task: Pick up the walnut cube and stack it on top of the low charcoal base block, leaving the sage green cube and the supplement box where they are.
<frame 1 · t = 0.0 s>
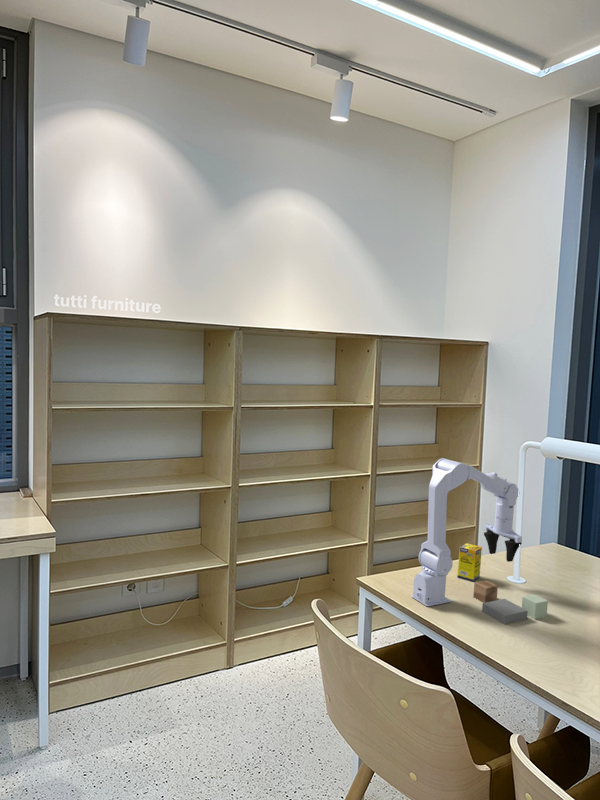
hand: (500, 557, 198), 10 cm above the table, tool pointing down, fingers open, 7 cm apart
charcoal base block: (504, 616, 177), on the table
supplement box: (468, 578, 206), on the table
walnut cube: (484, 599, 188), on the table
sage green cube: (533, 614, 179), on the table
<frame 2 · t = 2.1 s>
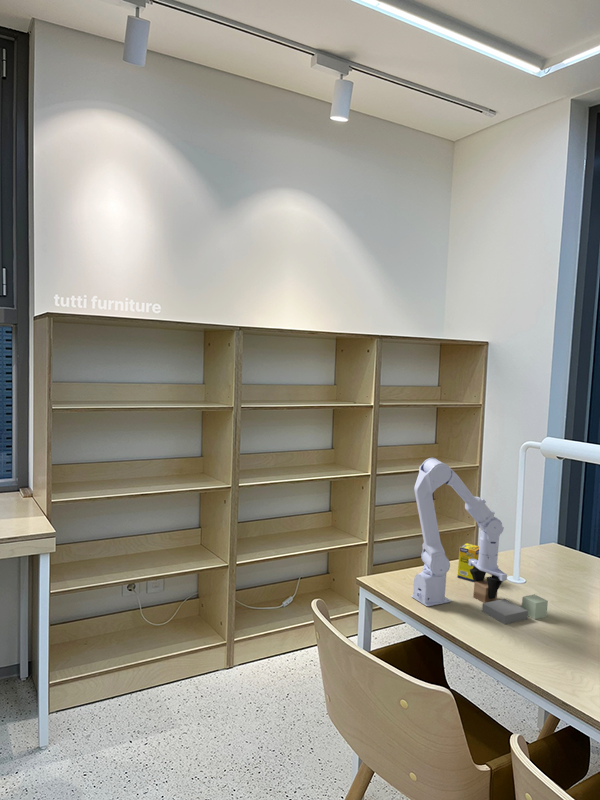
hand: (485, 594, 188), 1 cm above the table, tool pointing down, fingers closed on walnut cube, 5 cm apart
walnut cube: (484, 599, 188), on the table, touching gripper
everything else where it was.
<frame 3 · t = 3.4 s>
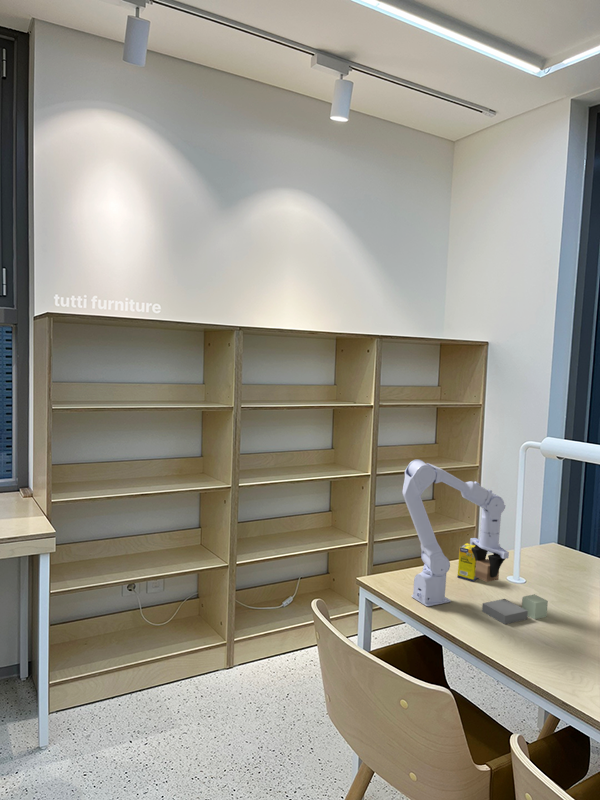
hand: (486, 573, 187), 8 cm above the table, tool pointing down, fingers closed on walnut cube, 5 cm apart
walnut cube: (486, 577, 188), point 7 cm above the table, touching gripper
everything else where it was.
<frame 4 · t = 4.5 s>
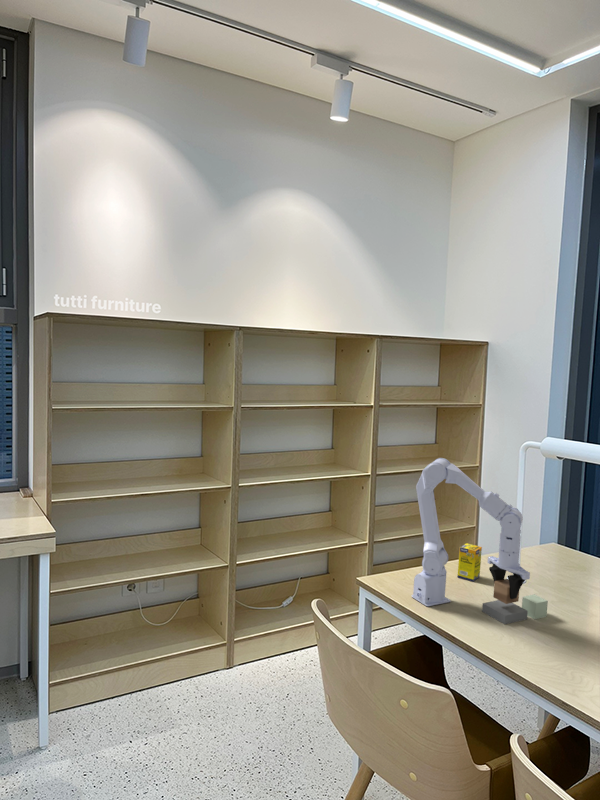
hand: (505, 594, 177), 6 cm above the table, tool pointing down, fingers closed on walnut cube, 5 cm apart
walnut cube: (505, 599, 177), point 5 cm above the table, touching gripper
everything else where it was.
when the fingers open (6 cm above the table, at t = 5.1 s): walnut cube drops 2 cm, resting on charcoal base block.
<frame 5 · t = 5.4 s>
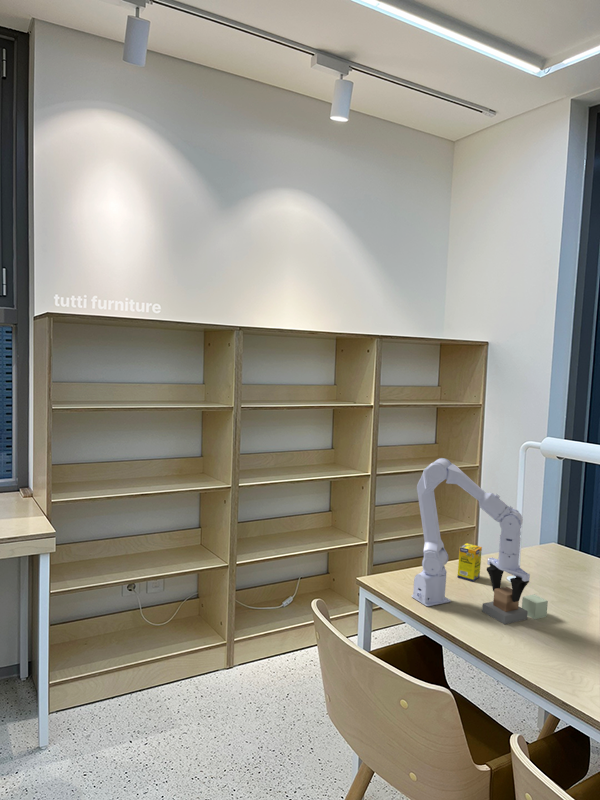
hand: (505, 596, 177), 6 cm above the table, tool pointing down, fingers open, 7 cm apart
charcoal base block: (504, 616, 177), on the table, touching walnut cube
walnut cube: (505, 607, 177), point 2 cm above the table, touching charcoal base block
everything else where it was.
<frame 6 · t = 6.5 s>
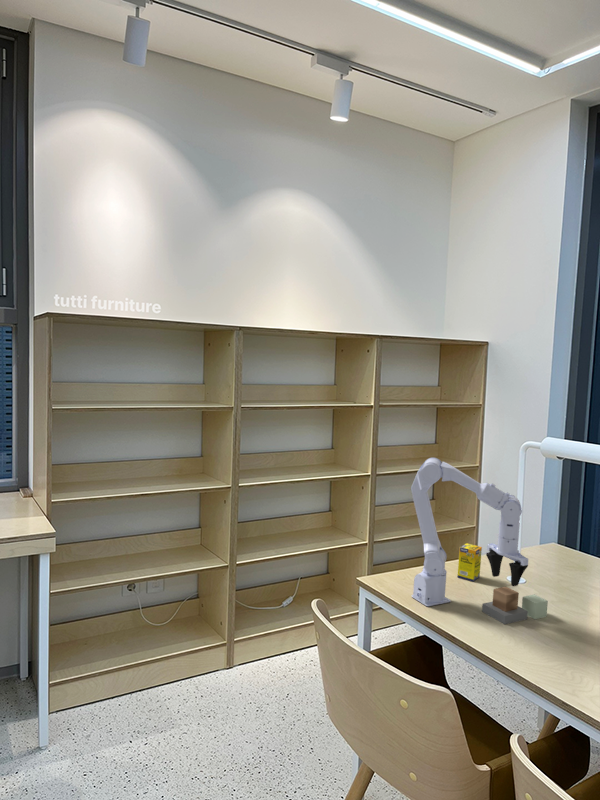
hand: (505, 580, 179), 9 cm above the table, tool pointing down, fingers open, 7 cm apart
nothing on the table moved.
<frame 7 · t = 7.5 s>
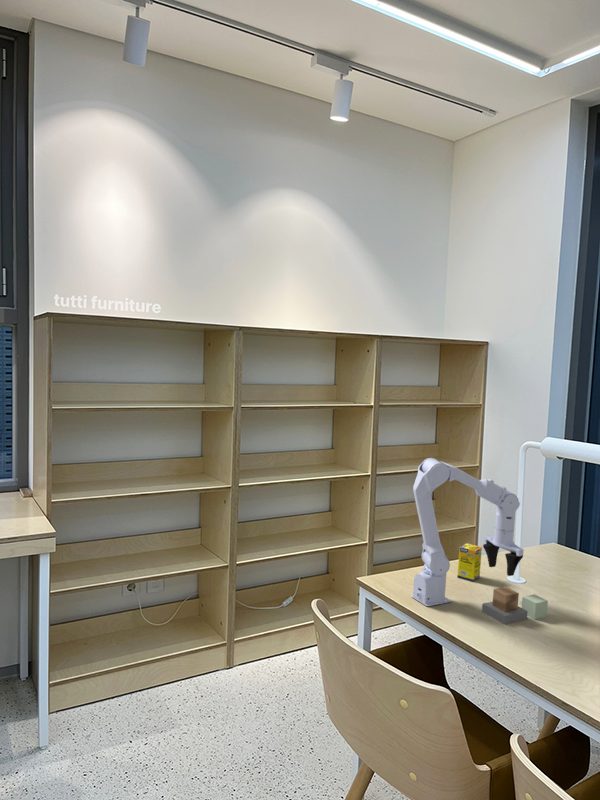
hand: (501, 570, 187), 9 cm above the table, tool pointing down, fingers open, 7 cm apart
charcoal base block: (504, 616, 177), on the table
walnut cube: (504, 607, 177), point 2 cm above the table
everything else where it was.
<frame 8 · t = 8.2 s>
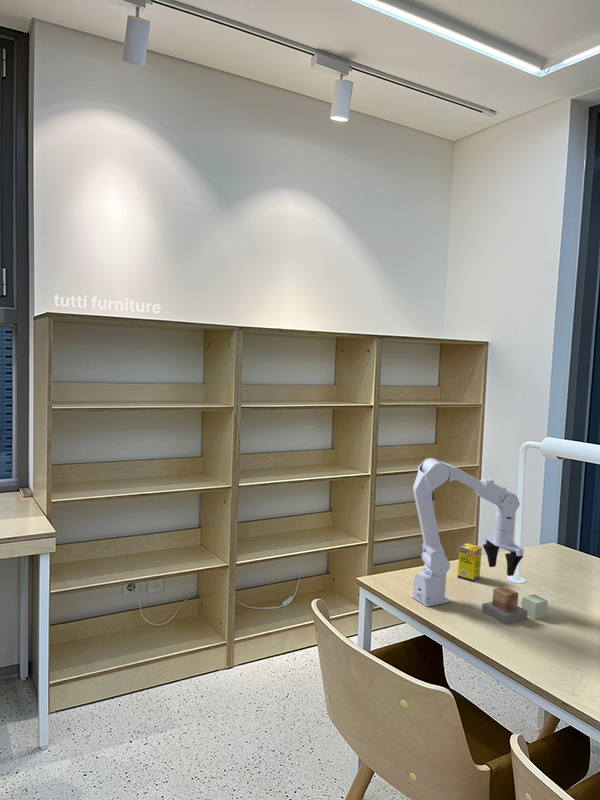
hand: (501, 570, 187), 9 cm above the table, tool pointing down, fingers open, 7 cm apart
charcoal base block: (504, 617, 177), on the table, touching walnut cube
walnut cube: (504, 607, 177), point 2 cm above the table, touching charcoal base block
everything else where it was.
at the end: walnut cube 0.1 cm off-centre on the charcoal base block, point 3.0 cm above the charcoal base block's base; walnut cube tilted 0°; the gripper is holding nothing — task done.
